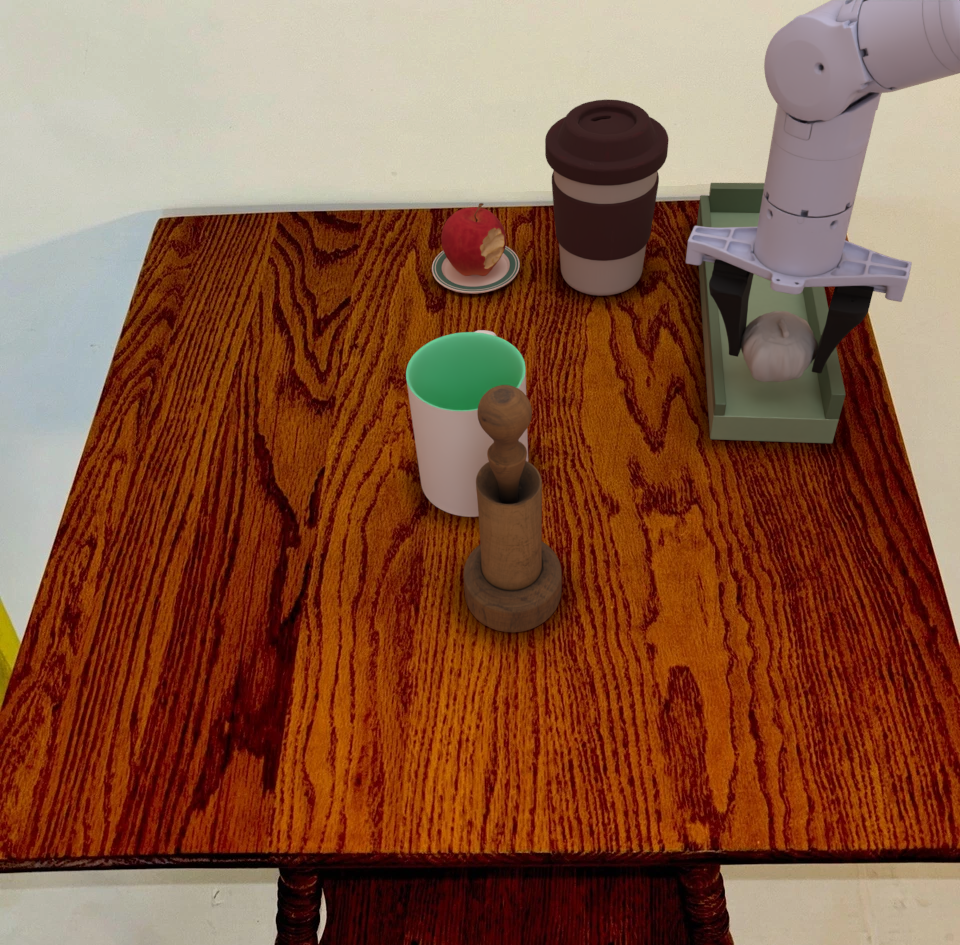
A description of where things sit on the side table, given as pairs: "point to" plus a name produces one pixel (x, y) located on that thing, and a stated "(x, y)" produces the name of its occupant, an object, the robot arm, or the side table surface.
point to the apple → (474, 253)
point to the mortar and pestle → (510, 525)
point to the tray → (730, 386)
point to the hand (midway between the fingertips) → (776, 355)
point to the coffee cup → (604, 192)
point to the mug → (457, 411)
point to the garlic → (778, 346)
